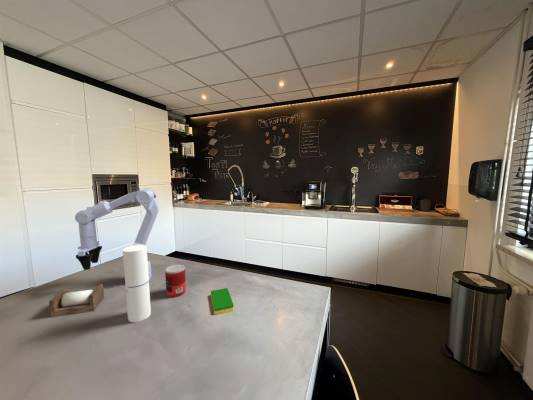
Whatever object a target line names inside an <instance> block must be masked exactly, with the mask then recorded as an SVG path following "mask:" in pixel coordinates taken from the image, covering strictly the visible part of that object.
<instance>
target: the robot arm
mask: <svg viewBox="0 0 533 400" xmlns="http://www.w3.org/2000/svg"><path fill="white" fill-rule="evenodd" d="M130 202H132V203H138V204H140V205H141V206H142V207H143V208H144V210H145V211H146V212H145V215H144V218H143V220H142V222H141V225H140V227H139V230H138V233H137V235H136V237H135V241H134V243H133V245H132V246H134V245H145V246H147V242H148V239H149V237H150V235H151V231H152V229H153V226H154V224H155V221H156V219H157V217H158V214H159V212H160V205H159V202H158V197H157V194H156V193H155V191H154V190H153V189H151V188H144V189H140V190H137V191H134V192H133V191H132V192H130V193H127V194H125V195H122V196H120V197H118V198H116V199H114V200H112V201H110V202H109V201H105V200H104V201H101V200H100V201H99V202H97V204H94V205H93V206H87V207H86V209H83V210H79V211H78V212H76V214H75V215H74V220H75V221H76V223H78V232H79V241H80V242H79V243H80V246H78V247H77V249H78V250H79V251H77V254H76V255H75V259H77V260H78V262H79V263H80V265H81V267H82V269H83V271H87V270H90V269H91V268H92V266H91V265H92V264H98V262H99V260H100V259H99V258H100V254H101V251H102V250H103V246H102V245H100V241H99V240H98V238H97V227H96V220H97V219H101V218H103V217H105V216H107V215H109V214H112V213H113V211H114V209H115V208H118V207H120V206H122V205H125V204H127V203H130ZM148 276H149V281H150V280H151V278H152V265H151V261H150V260H148Z"/></svg>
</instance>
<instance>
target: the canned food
mask: <svg viewBox="0 0 533 400" xmlns="http://www.w3.org/2000/svg"><path fill="white" fill-rule="evenodd" d="M164 272H165V273H164V274H165V275H164V276H165V290H166V295H167V297H169V298H177V297H179V296H183V295H184V294H185V292H186V290H187V282H186V279H187V278H186V267H185V265H184V264H172V265H170V266H168V267H166V268H165V269H164Z"/></svg>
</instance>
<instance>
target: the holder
mask: <svg viewBox="0 0 533 400" xmlns="http://www.w3.org/2000/svg"><path fill="white" fill-rule="evenodd" d="M65 293H69V289H68V287H67V288H63V289H62V290H60V292H59V293H57V294H55V295H54V296H53V297H52V298H51V299H49V301H48V303H49V312H50V318H54V317H62V316H68V315H75V314H82V313H88V312H95V310H96V309H97V307H98V306H99V305H100V304H101V303H102V301H103V300H104V299H105V292H104V284H103V283H99V284H98V285H97V287H95V289H94V290H93V292H92V293H91V294H90V295H89V303H90V304H84V305H77V306H70V307H63V306H62V304H61V301H62V297H63V295H64V294H65Z"/></svg>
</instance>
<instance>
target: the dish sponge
mask: <svg viewBox="0 0 533 400" xmlns="http://www.w3.org/2000/svg"><path fill="white" fill-rule="evenodd" d="M210 298H211V302H212V308H213V309H212V310H213V314H214V315H219V314H220V315H221V314H224V313H230V312H234V310H235V307H234V306H235V305H234V303H233V300H232V296H231V293H230V291H229V288H228V287H225V288H221V289H215V290H210Z"/></svg>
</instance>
